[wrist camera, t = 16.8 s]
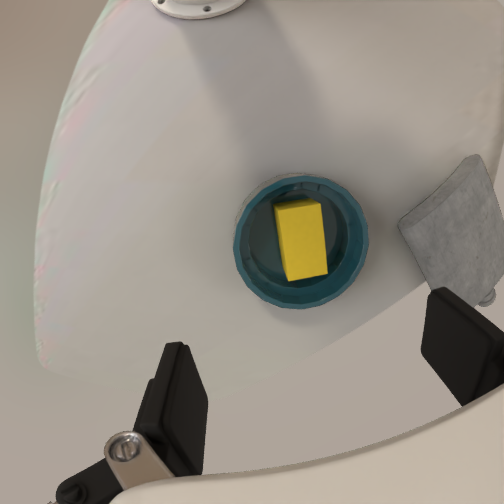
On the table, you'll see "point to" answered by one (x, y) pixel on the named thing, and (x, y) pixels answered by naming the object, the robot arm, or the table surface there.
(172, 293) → the table surface
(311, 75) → the table surface
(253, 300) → the table surface
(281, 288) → the bowl
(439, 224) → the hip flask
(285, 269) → the sponge
